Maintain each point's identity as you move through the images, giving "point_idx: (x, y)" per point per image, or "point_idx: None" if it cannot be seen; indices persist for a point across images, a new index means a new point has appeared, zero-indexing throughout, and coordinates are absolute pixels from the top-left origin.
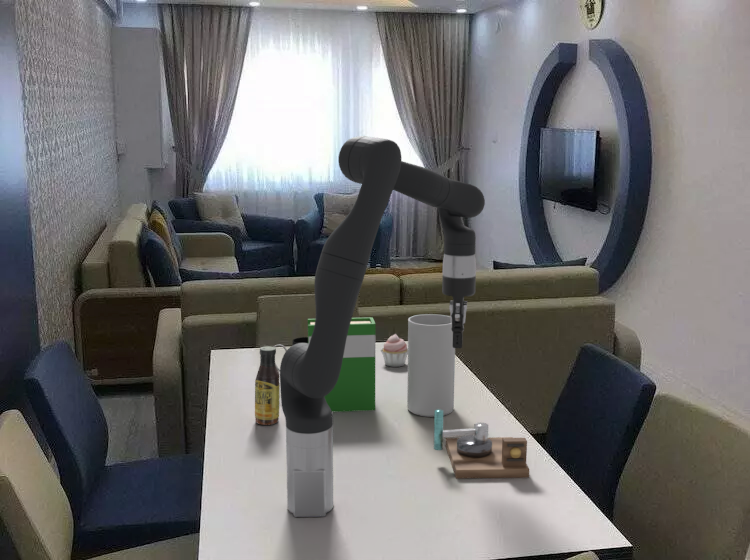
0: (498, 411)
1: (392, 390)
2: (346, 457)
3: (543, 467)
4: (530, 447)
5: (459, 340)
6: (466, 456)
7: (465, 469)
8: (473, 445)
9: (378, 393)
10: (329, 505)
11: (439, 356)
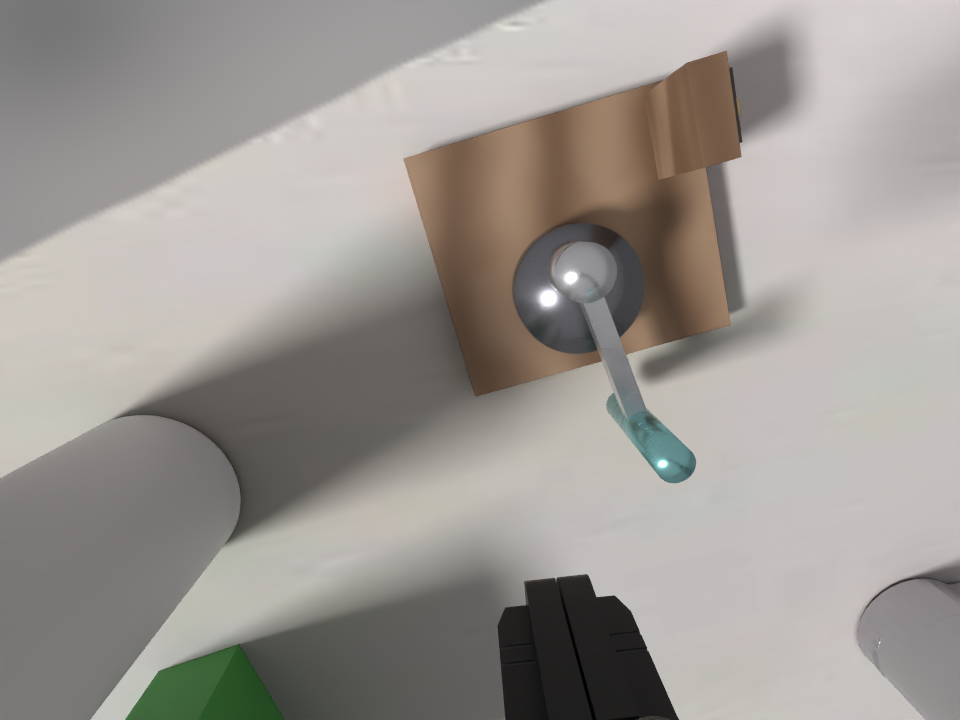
0: (69, 245)
1: None
2: None
3: (582, 29)
4: (408, 88)
5: (645, 657)
6: None
7: (723, 296)
8: (613, 290)
9: None
10: (950, 590)
11: (47, 619)
